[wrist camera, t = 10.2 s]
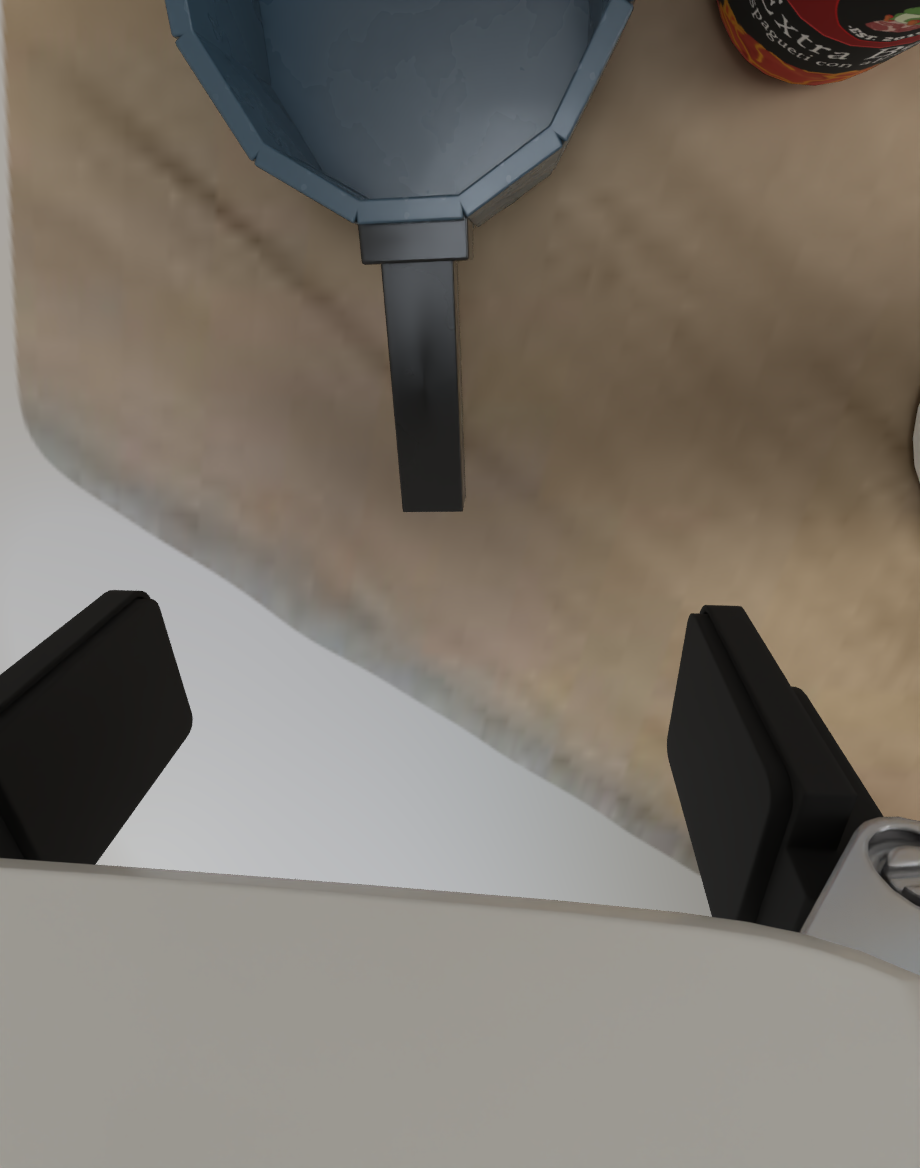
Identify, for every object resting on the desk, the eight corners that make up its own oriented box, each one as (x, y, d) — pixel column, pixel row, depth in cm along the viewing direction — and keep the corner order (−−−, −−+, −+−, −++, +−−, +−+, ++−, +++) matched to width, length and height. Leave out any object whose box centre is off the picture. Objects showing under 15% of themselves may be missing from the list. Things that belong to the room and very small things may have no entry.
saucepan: (622, -273, 16) (677, -540, 11) (580, 466, 26) (598, 520, 21) (211, -225, 17) (74, -447, 12) (318, 469, 27) (268, 522, 22)
